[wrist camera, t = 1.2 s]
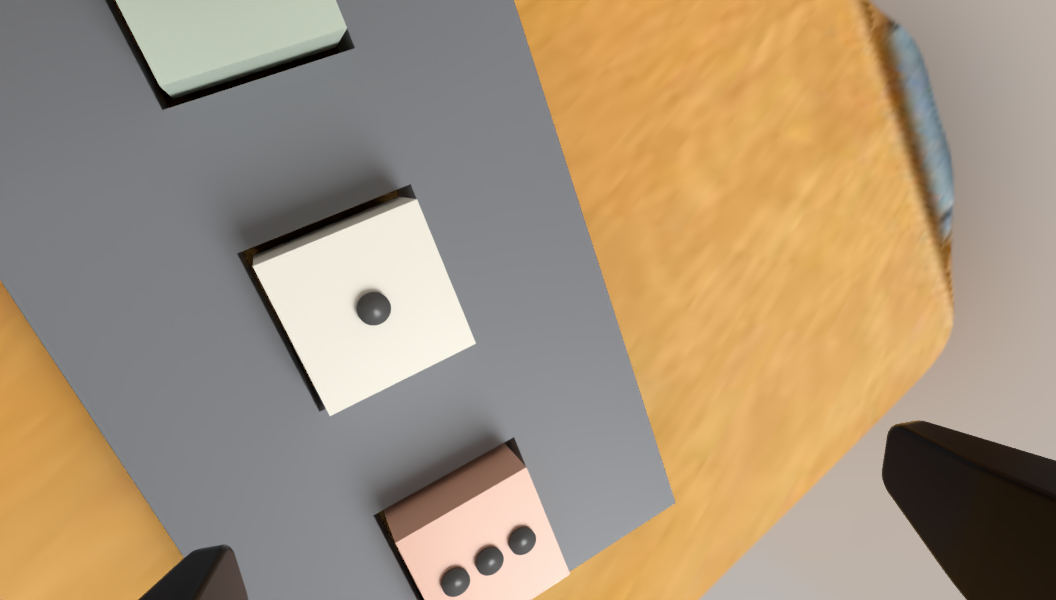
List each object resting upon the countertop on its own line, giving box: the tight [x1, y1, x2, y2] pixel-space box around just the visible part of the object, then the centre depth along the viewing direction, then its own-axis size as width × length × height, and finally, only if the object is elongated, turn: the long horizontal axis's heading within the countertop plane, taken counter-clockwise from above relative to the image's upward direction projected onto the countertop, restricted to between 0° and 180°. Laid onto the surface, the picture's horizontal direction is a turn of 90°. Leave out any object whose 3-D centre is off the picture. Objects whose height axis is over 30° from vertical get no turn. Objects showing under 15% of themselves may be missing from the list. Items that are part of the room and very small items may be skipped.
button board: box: [0, 0, 675, 600], centre depth 19 cm, size 15×25×2 cm, turn 21°
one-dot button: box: [253, 197, 476, 416], centre depth 18 cm, size 4×4×3 cm
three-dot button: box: [383, 443, 570, 600], centre depth 21 cm, size 4×4×3 cm
